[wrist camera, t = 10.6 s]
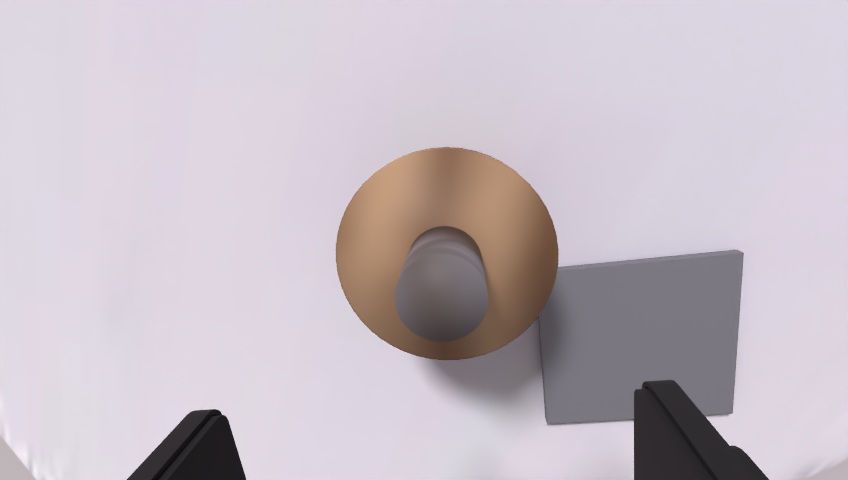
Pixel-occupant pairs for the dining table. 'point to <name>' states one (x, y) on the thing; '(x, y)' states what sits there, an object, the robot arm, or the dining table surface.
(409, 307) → the copper lid
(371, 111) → the dining table surface
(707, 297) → the rubber mat
